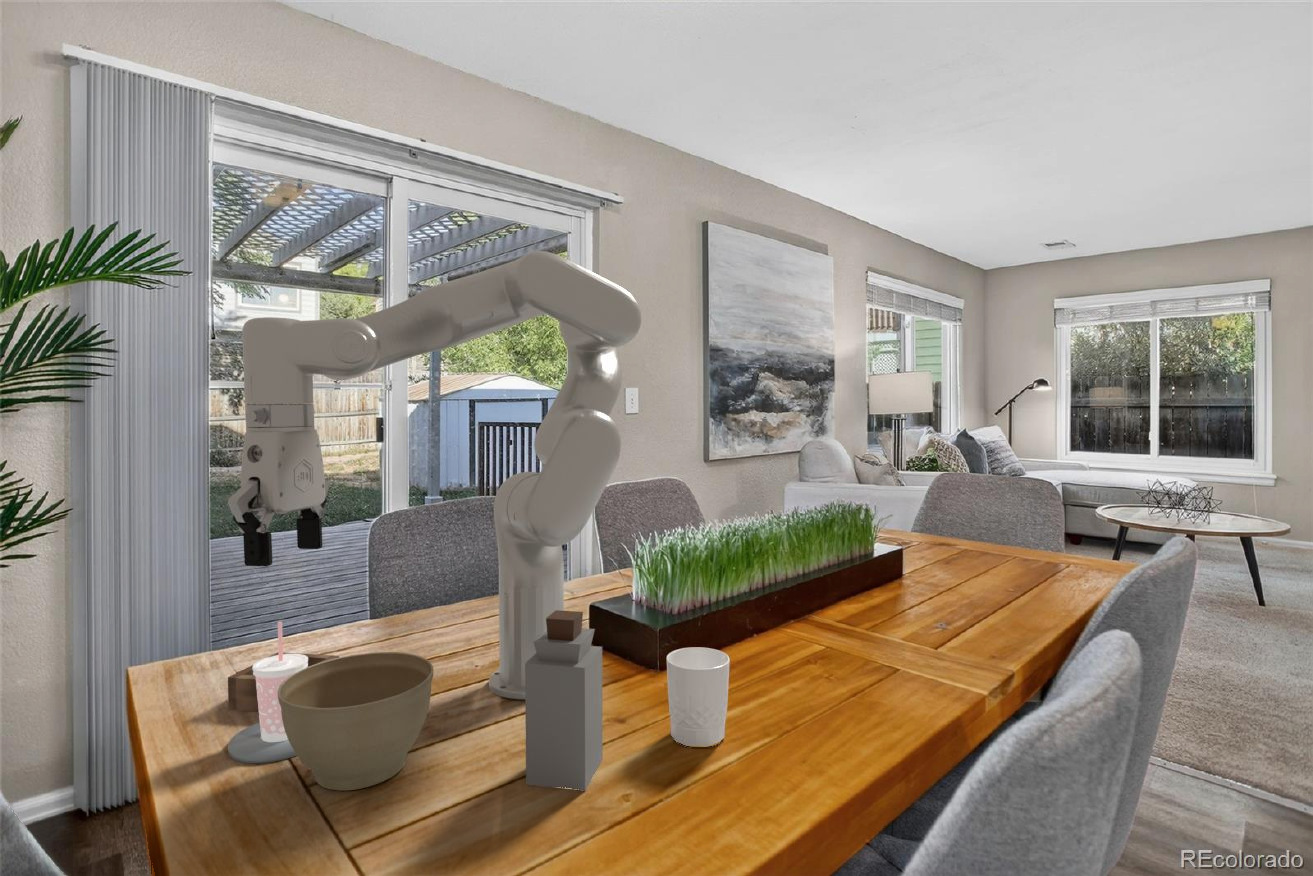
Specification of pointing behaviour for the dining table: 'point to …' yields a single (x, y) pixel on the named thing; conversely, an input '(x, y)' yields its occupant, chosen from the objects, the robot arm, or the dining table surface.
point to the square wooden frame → (244, 685)
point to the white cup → (698, 695)
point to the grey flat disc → (258, 747)
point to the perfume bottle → (563, 705)
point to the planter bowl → (356, 715)
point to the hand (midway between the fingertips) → (285, 556)
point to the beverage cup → (274, 688)
